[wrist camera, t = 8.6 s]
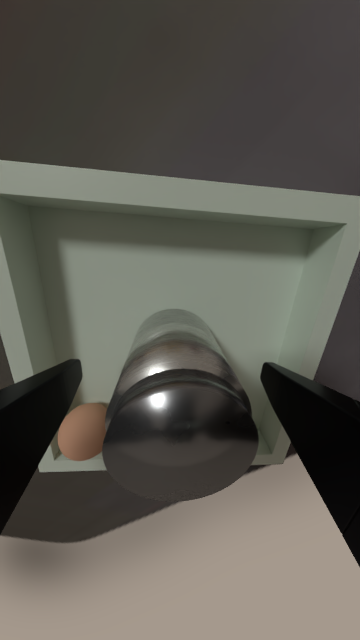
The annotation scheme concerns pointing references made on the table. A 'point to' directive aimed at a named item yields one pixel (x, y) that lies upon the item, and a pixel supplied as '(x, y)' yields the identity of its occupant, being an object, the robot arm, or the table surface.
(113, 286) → the tray
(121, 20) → the table surface
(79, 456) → the tan ball
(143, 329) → the shaker
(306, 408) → the robot arm
